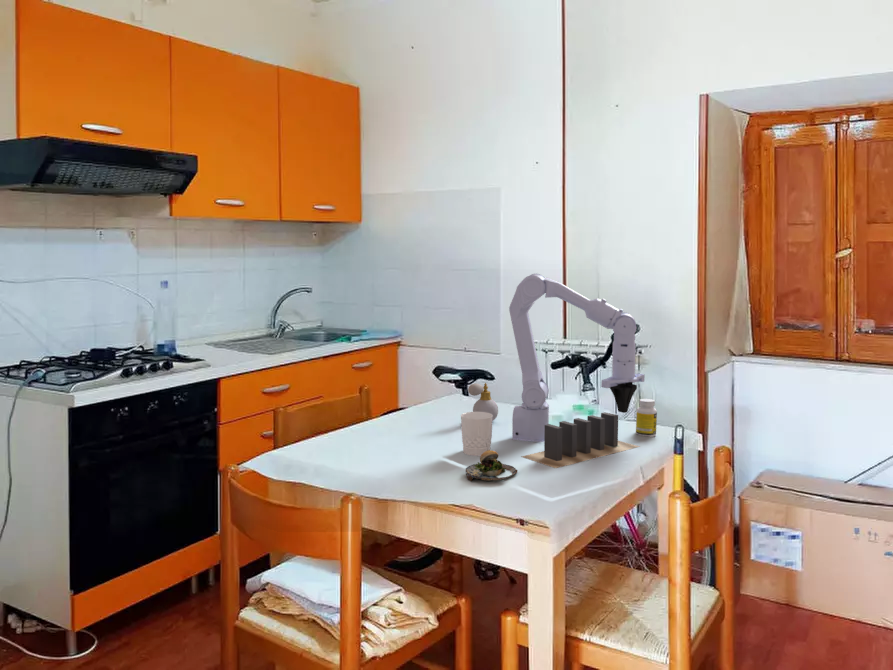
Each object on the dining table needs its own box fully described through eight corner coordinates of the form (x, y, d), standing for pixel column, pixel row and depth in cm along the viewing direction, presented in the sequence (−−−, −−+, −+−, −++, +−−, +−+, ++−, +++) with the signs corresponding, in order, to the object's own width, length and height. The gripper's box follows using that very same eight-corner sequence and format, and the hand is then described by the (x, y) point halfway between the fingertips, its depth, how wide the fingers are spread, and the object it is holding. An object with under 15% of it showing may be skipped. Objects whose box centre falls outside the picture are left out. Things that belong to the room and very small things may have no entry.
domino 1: (557, 461, 186) (557, 428, 185) (544, 456, 189) (544, 425, 188) (561, 459, 187) (562, 427, 186) (549, 455, 190) (549, 424, 189)
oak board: (555, 470, 180) (555, 467, 180) (520, 458, 190) (520, 456, 190) (640, 448, 198) (640, 446, 198) (604, 439, 208) (604, 436, 208)
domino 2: (571, 457, 189) (572, 425, 188) (558, 453, 192) (559, 421, 191) (576, 456, 190) (576, 424, 189) (563, 452, 193) (563, 421, 192)
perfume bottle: (502, 420, 229) (502, 380, 228) (489, 427, 221) (489, 386, 219) (478, 417, 233) (478, 378, 231) (465, 425, 224) (465, 384, 222)
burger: (465, 485, 171) (465, 453, 170) (464, 469, 183) (464, 438, 182) (519, 485, 171) (520, 452, 170) (514, 469, 183) (515, 438, 182)
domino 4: (599, 450, 195) (600, 419, 194) (586, 446, 198) (587, 416, 197) (604, 449, 196) (604, 418, 195) (591, 445, 199) (591, 415, 198)
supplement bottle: (656, 438, 208) (657, 402, 207) (636, 437, 209) (637, 401, 208) (655, 433, 214) (656, 398, 212) (635, 432, 215) (636, 397, 213)
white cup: (496, 451, 197) (496, 412, 196) (487, 459, 189) (487, 419, 188) (466, 448, 199) (466, 410, 198) (456, 457, 192) (456, 417, 191)
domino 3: (586, 453, 192) (586, 422, 191) (573, 450, 195) (573, 418, 194) (590, 452, 193) (591, 421, 192) (577, 448, 196) (578, 418, 195)
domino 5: (613, 446, 198) (614, 416, 197) (600, 443, 201) (601, 413, 200) (617, 445, 199) (618, 415, 198) (604, 442, 202) (605, 412, 201)
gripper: (616, 365, 193) (615, 418, 194) (654, 359, 201) (653, 410, 203) (595, 361, 198) (594, 413, 200) (632, 356, 207) (631, 405, 209)
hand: (622, 411), depth 202 cm, fingers closed
